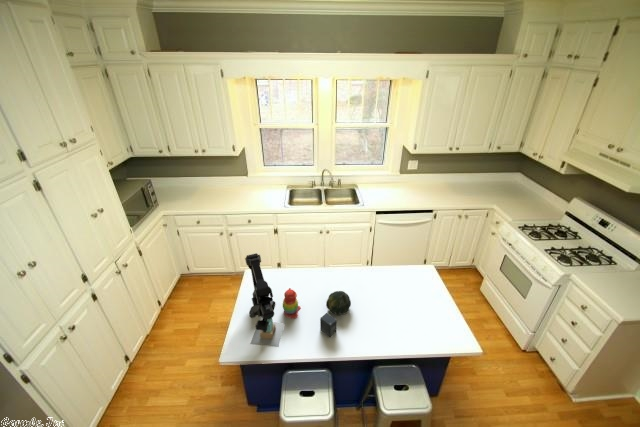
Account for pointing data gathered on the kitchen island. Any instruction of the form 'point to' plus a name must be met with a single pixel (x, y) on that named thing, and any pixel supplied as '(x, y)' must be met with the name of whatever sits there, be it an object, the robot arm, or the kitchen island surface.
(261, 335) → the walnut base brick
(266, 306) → the robot arm
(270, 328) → the teal brick
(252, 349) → the kitchen island surface
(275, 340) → the baseplate
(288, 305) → the stacking bear
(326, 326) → the box
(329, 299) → the squash
